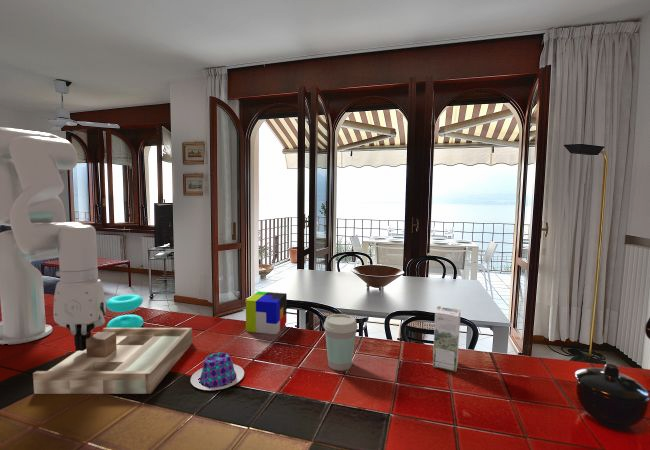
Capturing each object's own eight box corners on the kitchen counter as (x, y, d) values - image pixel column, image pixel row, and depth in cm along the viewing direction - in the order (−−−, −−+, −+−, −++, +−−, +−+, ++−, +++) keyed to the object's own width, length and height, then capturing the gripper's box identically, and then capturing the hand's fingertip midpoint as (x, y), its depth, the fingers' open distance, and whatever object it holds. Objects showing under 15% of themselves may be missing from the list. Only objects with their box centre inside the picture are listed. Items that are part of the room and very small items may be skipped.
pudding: (231, 361, 90) (231, 341, 89) (253, 381, 80) (253, 359, 80) (183, 376, 82) (183, 354, 82) (200, 400, 73) (200, 376, 72)
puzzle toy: (276, 334, 106) (276, 302, 105) (245, 331, 108) (245, 300, 107) (286, 322, 116) (286, 293, 115) (258, 320, 118) (258, 291, 117)
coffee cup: (363, 364, 88) (364, 319, 87) (341, 377, 82) (342, 328, 81) (338, 353, 94) (338, 310, 93) (316, 365, 88) (316, 319, 86)
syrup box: (458, 362, 90) (461, 308, 89) (456, 373, 85) (459, 315, 83) (435, 357, 92) (437, 304, 91) (432, 367, 87) (434, 311, 86)
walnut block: (86, 357, 84) (85, 339, 83) (99, 349, 88) (98, 331, 88) (105, 357, 84) (104, 339, 83) (116, 349, 88) (115, 332, 88)
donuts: (114, 304, 101) (99, 298, 107) (116, 338, 102) (101, 329, 108) (148, 296, 109) (133, 291, 115) (149, 327, 110) (134, 320, 116)
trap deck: (34, 393, 74) (32, 373, 73) (105, 342, 99) (104, 327, 98) (150, 393, 74) (150, 373, 74) (192, 343, 99) (192, 327, 99)
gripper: (35, 279, 80) (40, 355, 82) (100, 280, 80) (104, 355, 82) (59, 271, 88) (63, 341, 89) (119, 272, 88) (122, 342, 90)
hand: (83, 348), depth 86 cm, fingers closed
